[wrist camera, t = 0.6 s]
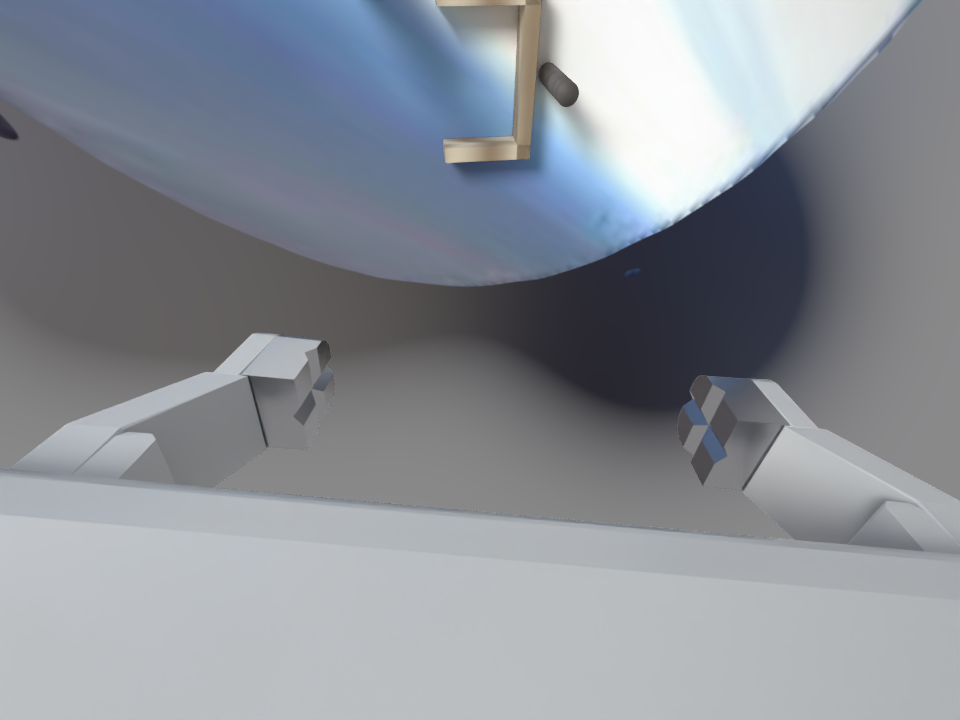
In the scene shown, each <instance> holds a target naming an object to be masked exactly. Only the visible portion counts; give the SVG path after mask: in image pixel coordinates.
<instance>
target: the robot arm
mask: <svg viewBox="0 0 960 720" xmlns="http://www.w3.org/2000/svg"><path fill="white" fill-rule="evenodd" d="M330 359H331V352H330V347H329V344H328V343H327V341H326V340H321V339H313V338H304V337H295V336H285V335H278V334H268V333H253V334H252V335H251V336H250V337H249V338H248V339H247V340H246V341H245V342H244V343H243V344H242V345H241V346H240V347H239V348H238V349H237V350H236V351H235V352H233V354H231V356H229V357H228V358H227V360H225V361H224V362H223V363H222V364H221V365H220V366H219V367H218V368H217V369H216V370H215V371H214V372H213V373H210V372H204V373H202V374H199V375H196V376H194V377H191V378H188V379H185V380H183V381H180V382H177V383H175V384H172V385H169V386H167V387H164V388H161V389H159V390H156V391H153V392H151V393H148V394H145V395H143V396H140V397H137V398H135V399H132V400H129V401H127V402H124V403H122V404H119V405H116V406H113V407H111V408H108V409H105V410H103V411H100V412H97V413H95V414H92V415H89V416H87V417H84V418H81V419H79V420H76V421H73V422H71V423H68V424H66V425H65V426H63V427H62V428H61V429H60V430H58V431H57V432H56V433H54V434H53V435H52V436H51V437H49V438H48V439H47V440H46V441H44V442H43V443H42V444H40V445H39V446H38V447H37V448H35V449H34V450H33V451H31V452H30V453H29V454H28V455H26V456H25V457H24V458H22V459H21V460H20V461H18V462H17V463H16V464H15V465H13V466H12V467H11V468H9V469H4V468H0V720H960V501H959V500H957V499H955V498H953V497H951V496H949V495H948V494H946V493H944V492H942V491H940V490H938V489H936V488H934V487H933V486H931V485H929V484H927V483H925V482H923V481H921V480H919V479H917V478H916V477H914V476H912V475H910V474H908V473H906V472H904V471H903V470H901V469H899V468H897V467H895V466H893V465H891V464H890V463H888V462H886V461H884V460H882V459H880V458H878V457H876V456H875V455H872V454H871V453H869V452H867V451H865V450H864V449H862V448H860V447H858V446H856V445H854V444H852V443H850V442H849V441H847V440H845V439H843V438H841V437H839V436H837V435H835V434H834V433H831V432H830V431H828V430H826V429H818V428H817V426H816V425H815V424H814V423H813V422H812V421H811V420H810V419H809V418H808V417H807V416H806V415H805V413H804V412H803V411H802V410H801V409H800V408H799V407H798V406H797V405H796V404H795V403H794V402H793V400H792V399H791V398H790V397H789V396H788V395H787V394H786V393H785V392H784V391H783V390H782V389H781V388H780V387H779V385H778V384H777V383H775V382H773V381H771V380H762V379H743V378H728V377H712V376H698V378H697V379H696V380H695V381H694V382H693V384H692V387H691V389H690V393H691V395H692V397H693V399H692V400H691V401H690V402H688V403H687V404H685V405H684V406H683V407H682V410H681V412H680V415H679V417H678V427H677V430H678V435H679V439H680V442H681V444H682V446H683V447H684V448H685V449H686V450H688V451H689V452H690V453H691V454H693V455H694V456H693V458H692V461H691V464H692V466H693V468H694V470H695V472H696V474H697V476H698V478H699V480H700V482H701V484H702V486H707V487H714V488H723V489H731V490H740V491H743V493H744V494H745V495H746V496H747V497H748V498H749V499H751V501H753V502H754V503H755V504H756V505H757V506H758V507H759V508H760V509H761V510H763V511H764V512H765V513H766V514H767V515H768V516H769V517H770V518H771V519H772V520H774V521H775V522H776V523H777V524H778V525H779V526H780V527H781V528H782V529H784V530H785V531H786V532H787V533H788V534H789V535H790V536H791V537H792V538H793V539H795V540H788V539H778V538H767V537H756V536H746V535H734V534H724V533H712V532H702V531H691V530H679V529H669V528H658V527H647V526H636V525H626V524H614V523H603V522H592V521H581V520H570V519H558V518H547V517H536V516H525V515H514V514H502V513H491V512H480V511H469V510H458V509H446V508H434V507H424V506H413V505H402V504H391V503H379V502H369V501H368V502H367V501H357V500H347V499H346V500H345V499H335V498H324V497H313V496H302V495H291V494H280V493H268V492H258V491H247V490H236V489H225V488H214V486H216V485H217V484H219V483H220V482H221V481H223V480H224V479H226V478H227V477H228V476H230V475H231V474H233V473H234V472H236V471H237V470H239V469H240V468H241V467H243V466H244V465H246V464H247V463H248V462H250V461H251V460H253V459H254V458H255V457H257V456H258V455H260V454H261V453H263V452H264V451H265V450H267V448H266V447H268V448H284V449H299V450H308V449H309V447H310V445H311V443H312V441H313V439H314V438H315V436H316V434H317V432H318V430H319V421H318V419H320V418H321V417H323V416H325V415H327V413H328V411H329V409H330V407H331V404H332V400H333V396H334V384H335V383H334V375H333V373H332V372H331V371H330V370H329V368H328V367H327V366H326V365H327V363H328V362H329V360H330Z"/></svg>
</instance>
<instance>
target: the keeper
mask: <svg viewBox="0 0 960 720" xmlns="http://www.w3.org/2000/svg"><path fill="white" fill-rule="evenodd" d="M435 3H436V5H437V6H494V5H519V15H518V35H517V55H516V75H515V95H514V115H513V135H512V136H505V137H482V138H459V139H443V145H444V156H445V162H446V163H455V162H476V161H497V160H517V159H529V158H530V145H531V133H532V120H533V108H534V95H535V83H536V70H537V57H538V45H539V32H540V20H541V7H542V0H435ZM539 80H540V82H541V83H542V84H543V85H544V86H545V87H546V88H547V90H548V91H549V92H550V93H551V94H552V95H553V96H554V98H555V99H556V100H557V101H558V102H559V103H560V104H561V105H562V106H564V107H569V106H571V105H573V104H574V103H575V102H576V100H577V98H578V95H579V90H578V87H577V85H576V84H575V83H574V82H572V81H571V80H570V79H569V78H568V77H567V76H566V75H565V74H564V73H563V72H562V71H561V70H560V69H558V68H557V67H556V66H555V65H554V64H553V63H546V64H544V65H543V66H542V67H541V69H540V71H539Z"/></svg>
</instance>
